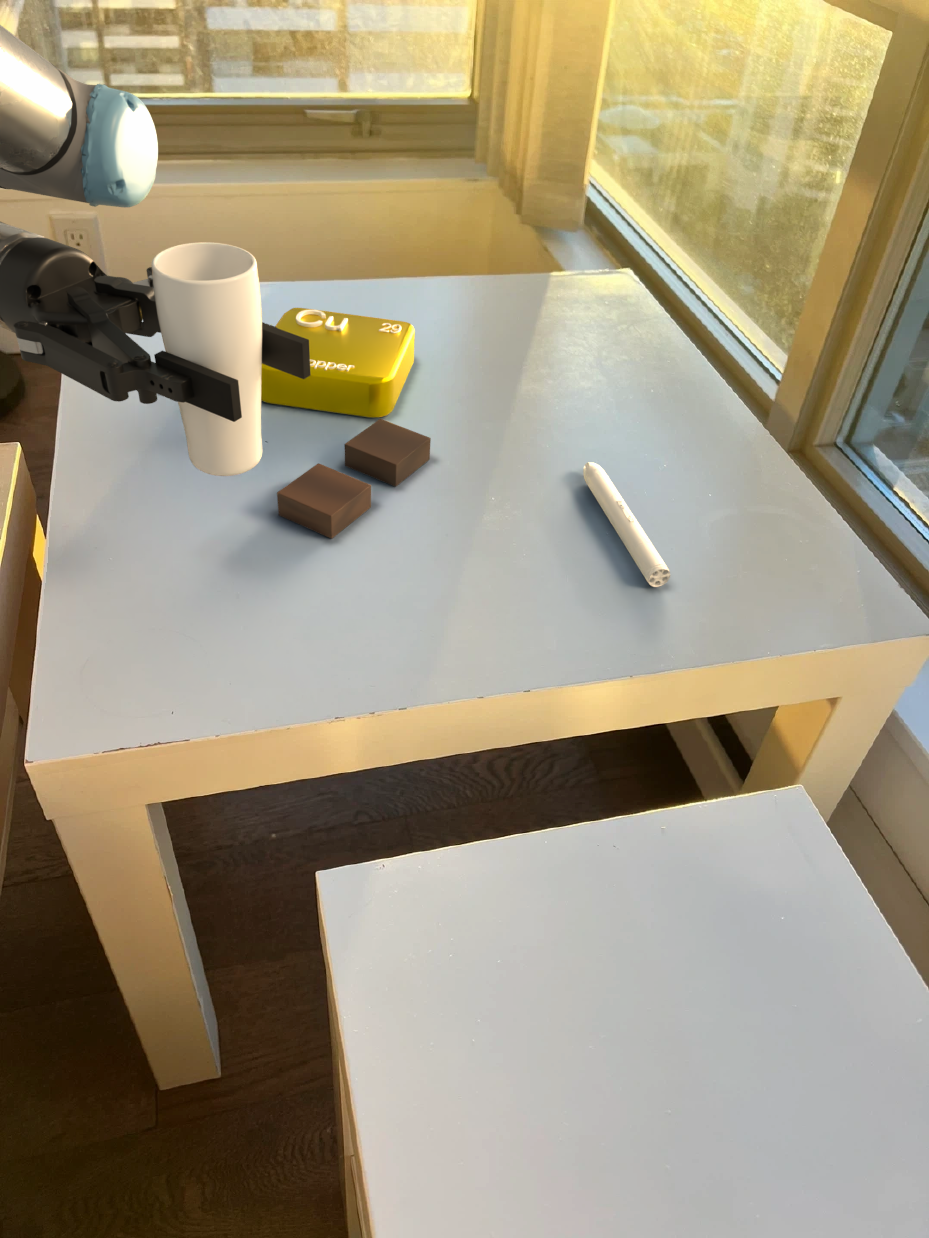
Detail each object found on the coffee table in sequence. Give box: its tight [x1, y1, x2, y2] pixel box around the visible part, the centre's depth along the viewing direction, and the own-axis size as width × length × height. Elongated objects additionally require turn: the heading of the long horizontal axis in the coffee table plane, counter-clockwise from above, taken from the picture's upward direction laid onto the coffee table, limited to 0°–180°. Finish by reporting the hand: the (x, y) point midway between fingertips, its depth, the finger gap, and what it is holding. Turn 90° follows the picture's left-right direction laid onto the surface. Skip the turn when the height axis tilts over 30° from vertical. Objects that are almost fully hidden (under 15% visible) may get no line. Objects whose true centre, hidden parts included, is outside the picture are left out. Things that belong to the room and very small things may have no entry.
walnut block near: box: [276, 463, 372, 540], centre depth 87 cm, size 6×6×2 cm
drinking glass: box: [150, 241, 263, 477], centre depth 67 cm, size 7×7×15 cm
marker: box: [582, 461, 671, 588], centre depth 88 cm, size 18×2×2 cm, turn 15°
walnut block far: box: [344, 418, 432, 488], centre depth 93 cm, size 6×6×2 cm
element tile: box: [261, 307, 416, 419], centre depth 104 cm, size 15×15×5 cm
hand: (272, 379), depth 64 cm, fingers closed on drinking glass, 7 cm apart
